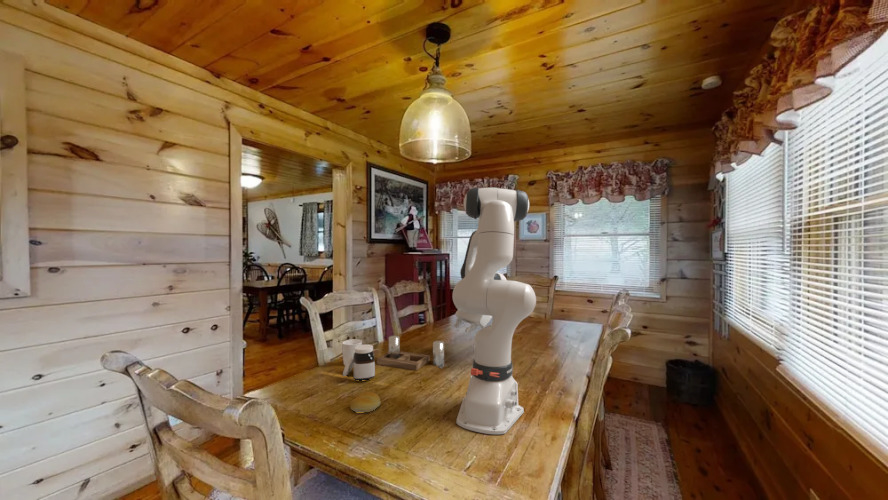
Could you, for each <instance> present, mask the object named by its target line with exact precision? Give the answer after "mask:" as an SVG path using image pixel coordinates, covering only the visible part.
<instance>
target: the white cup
mask: <svg viewBox="0 0 888 500" xmlns="http://www.w3.org/2000/svg"><path fill="white" fill-rule="evenodd" d="M358 345H363V341H362V340H361V339H359V338H358V339H356V338H355V339H353V338H352V339H351V338H350V339H346V340H343V341H341V347H342V348H341V349H342V361H343V365H344V367H345V366H346V364H347V362H348V360H349V359H350V358H352V359H353V355H354V353H355V352H354V348H355V347H356V346H358Z"/></svg>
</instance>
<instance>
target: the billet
mask: <svg viewBox="0 0 888 500" xmlns="http://www.w3.org/2000/svg"><path fill="white" fill-rule="evenodd" d="M432 365H433V366H436V367H437V368H441V369H443V368H442V367H444V368H445V341H442V340H434V341H433V342H432Z"/></svg>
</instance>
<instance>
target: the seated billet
mask: <svg viewBox="0 0 888 500" xmlns="http://www.w3.org/2000/svg"><path fill="white" fill-rule="evenodd" d="M400 339H401V338H400V336H399V335H390V336H388V352H389V358H393V359H398V358H400V351H401V348H400V342H401V341H400Z"/></svg>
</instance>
